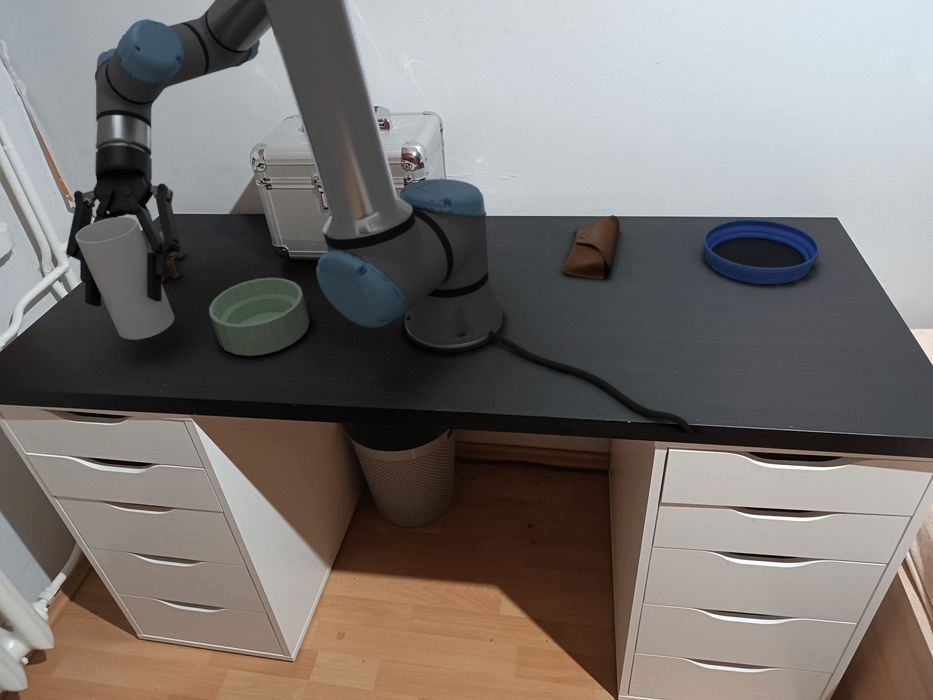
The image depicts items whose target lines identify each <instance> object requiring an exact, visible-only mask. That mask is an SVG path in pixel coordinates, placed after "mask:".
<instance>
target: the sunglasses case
mask: <svg viewBox="0 0 933 700" xmlns="http://www.w3.org/2000/svg"><path fill="white" fill-rule="evenodd" d="M620 227H621V223H620V220H619V217H617V216H616V215H614V214H611V215H609V216H607V217H605V218H604V219H602V220H600V221H597V222H594V223H592V224H588V225H585V226H582V227H580V228H577V229H576V230H575V235H574V239H573V242H572V245H571V248H570V251H569V254H568V256H567V258H566V261H565V262H564V265H563V268H562V270H561V271H562V273H563V274H565V275H568V276H573V277H578V278H582V279H583V278H584V279H593V280H604V279H606V278H608V277H609V276H610V275H611V272H612V268H613V263H614V257H615V253H616V247H617V242H618V238H619V234H620Z"/></svg>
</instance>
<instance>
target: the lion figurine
mask: <svg viewBox="0 0 933 700" xmlns="http://www.w3.org/2000/svg"><path fill="white" fill-rule="evenodd" d="M158 232H159V234H160V236H161V238H162V240H163V242H164V237H163V232H162V230H161V231H158ZM146 245H147V247H148V250H149V253H154V251H152V250H151V248H152V247H151V245H150V243H149V242H148V243H147V244H146ZM176 253H177V255H176ZM175 255H176V256H175ZM176 257H177V258H178V259H182V258H184V254H183V252H182V249H180V250H179V251H178V252H172V253H170V254H169V255H168V256H167V268H169V273H170V276H171V277H172V278H173V279H177V278H179V277H180V274H179V273H178V272H177V270H176V266H175V262H174V259H175V258H176ZM165 279H166V277H161V283H163V282H165V281H166V280H165Z"/></svg>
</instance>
